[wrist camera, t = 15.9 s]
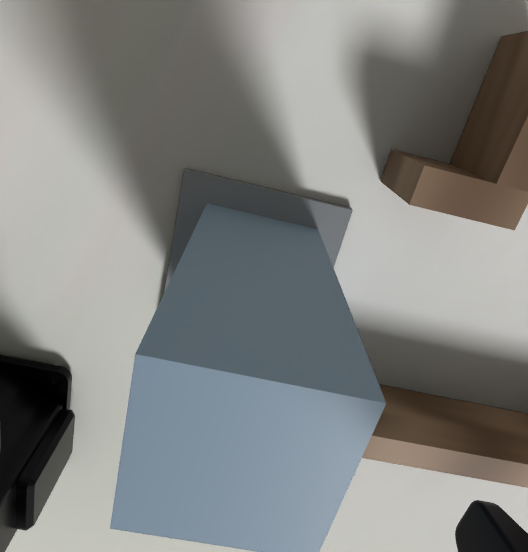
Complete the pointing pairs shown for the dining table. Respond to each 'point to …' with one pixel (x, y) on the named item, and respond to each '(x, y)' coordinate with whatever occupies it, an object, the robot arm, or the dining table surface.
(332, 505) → the slate block
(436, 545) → the dining table surface
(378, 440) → the brown angular open frame
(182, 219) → the grey mat
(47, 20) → the dining table surface
